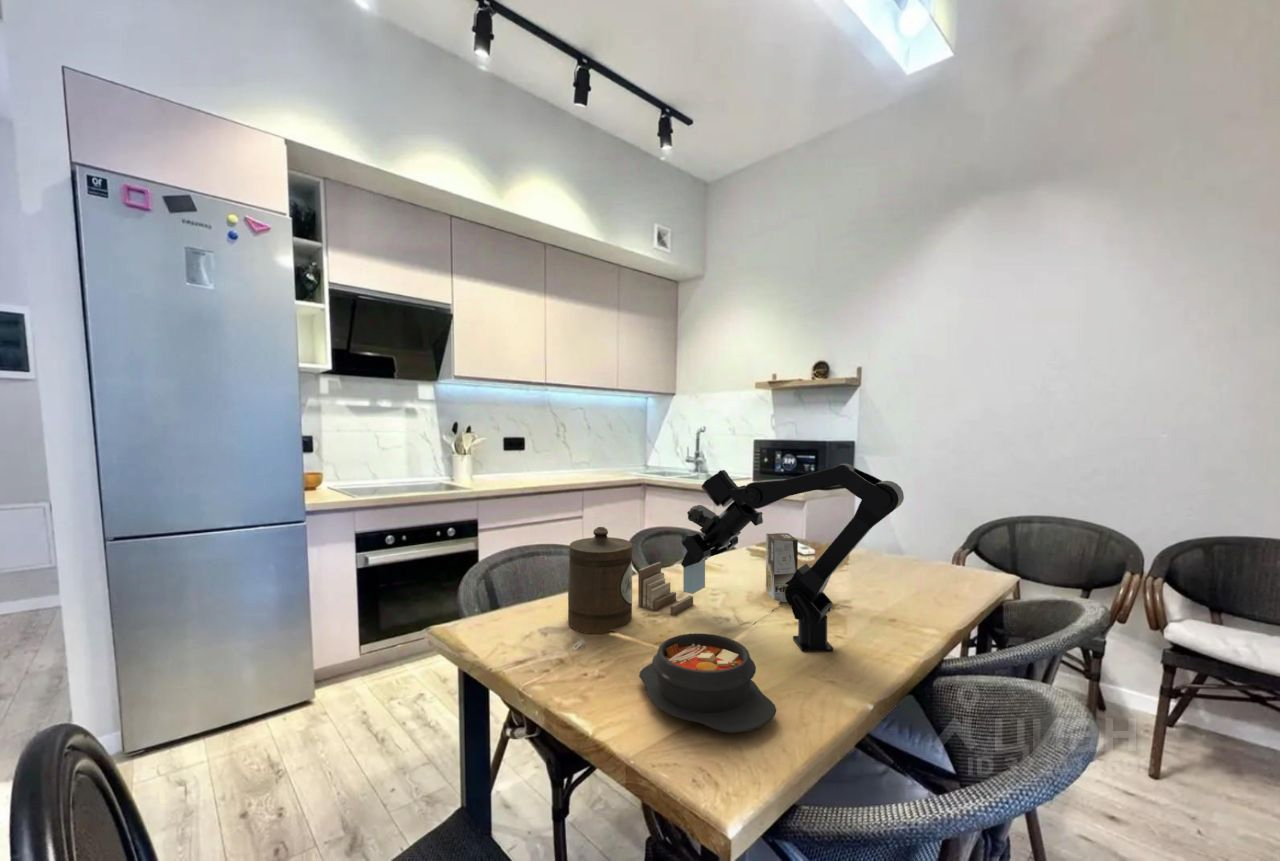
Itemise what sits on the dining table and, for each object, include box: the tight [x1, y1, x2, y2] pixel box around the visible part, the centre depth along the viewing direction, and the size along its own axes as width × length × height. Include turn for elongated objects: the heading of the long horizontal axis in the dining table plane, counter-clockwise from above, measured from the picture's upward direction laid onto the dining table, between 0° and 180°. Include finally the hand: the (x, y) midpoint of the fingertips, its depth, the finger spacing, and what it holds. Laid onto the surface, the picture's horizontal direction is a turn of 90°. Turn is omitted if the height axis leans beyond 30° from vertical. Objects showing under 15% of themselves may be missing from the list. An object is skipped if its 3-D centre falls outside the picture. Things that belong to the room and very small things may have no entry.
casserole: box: [638, 632, 777, 734], centre depth 84 cm, size 25×19×8 cm
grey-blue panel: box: [682, 545, 706, 595], centre depth 121 cm, size 2×6×12 cm, turn 144°
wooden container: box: [567, 526, 633, 635], centre depth 118 cm, size 15×15×22 cm
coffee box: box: [765, 532, 799, 603], centre depth 135 cm, size 9×6×16 cm
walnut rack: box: [637, 561, 695, 617], centre depth 126 cm, size 11×9×10 cm
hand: (689, 562), depth 122 cm, fingers closed on grey-blue panel, 6 cm apart
